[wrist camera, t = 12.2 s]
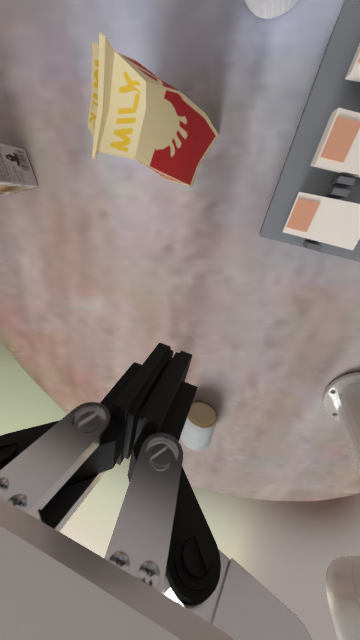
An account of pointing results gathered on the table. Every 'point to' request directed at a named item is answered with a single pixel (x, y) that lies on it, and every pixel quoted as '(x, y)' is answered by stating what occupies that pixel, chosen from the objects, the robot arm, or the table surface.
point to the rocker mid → (340, 144)
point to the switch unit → (326, 96)
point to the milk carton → (145, 117)
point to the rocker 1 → (325, 220)
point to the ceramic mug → (199, 426)
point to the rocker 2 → (354, 67)
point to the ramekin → (270, 7)
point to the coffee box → (15, 170)
